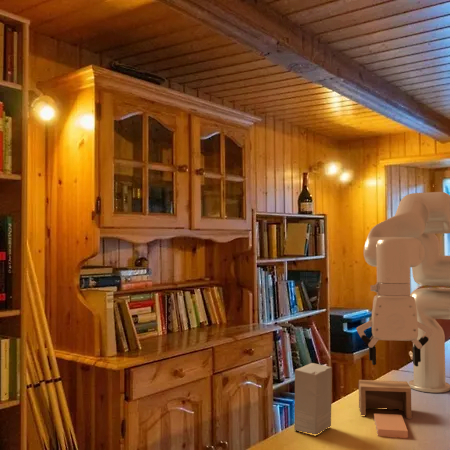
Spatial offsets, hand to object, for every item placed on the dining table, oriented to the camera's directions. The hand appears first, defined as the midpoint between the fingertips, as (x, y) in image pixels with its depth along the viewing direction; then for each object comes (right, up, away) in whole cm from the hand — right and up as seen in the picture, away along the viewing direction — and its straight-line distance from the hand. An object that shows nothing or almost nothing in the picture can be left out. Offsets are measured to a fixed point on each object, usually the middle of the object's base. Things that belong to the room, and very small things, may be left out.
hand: (394, 364), depth 128 cm
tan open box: (+4, -19, +23) cm, 30 cm away
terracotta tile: (+2, -19, +10) cm, 22 cm away
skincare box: (-17, -19, +10) cm, 28 cm away
